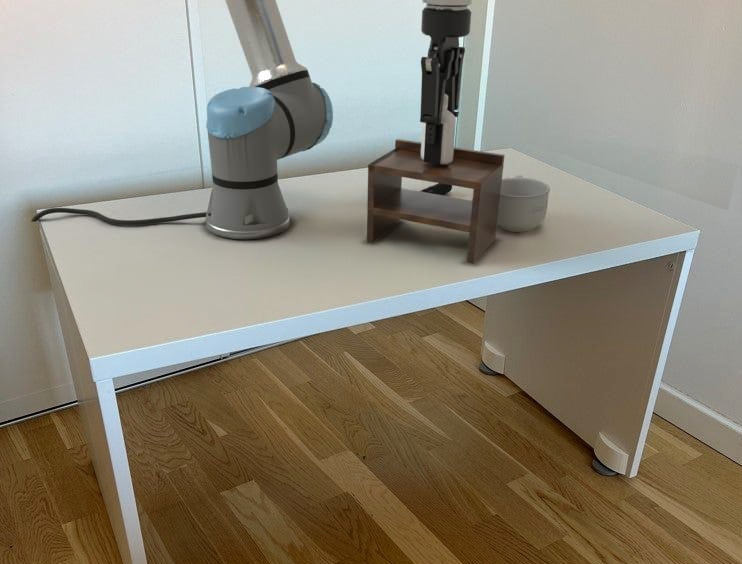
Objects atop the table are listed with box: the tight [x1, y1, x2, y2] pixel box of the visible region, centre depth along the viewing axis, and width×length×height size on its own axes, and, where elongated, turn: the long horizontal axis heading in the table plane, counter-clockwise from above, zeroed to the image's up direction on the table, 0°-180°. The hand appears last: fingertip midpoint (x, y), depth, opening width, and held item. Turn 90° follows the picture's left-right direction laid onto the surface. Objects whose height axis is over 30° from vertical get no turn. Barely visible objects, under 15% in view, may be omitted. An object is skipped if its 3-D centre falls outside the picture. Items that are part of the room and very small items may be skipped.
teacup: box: [497, 175, 551, 233], centre depth 142 cm, size 14×11×8 cm
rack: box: [366, 138, 506, 265], centre depth 131 cm, size 20×12×16 cm, turn 64°
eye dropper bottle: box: [421, 93, 457, 164], centre depth 124 cm, size 4×6×12 cm
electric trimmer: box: [419, 183, 453, 196], centre depth 152 cm, size 4×16×3 cm, turn 142°
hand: (436, 159), depth 127 cm, fingers closed on eye dropper bottle, 4 cm apart
